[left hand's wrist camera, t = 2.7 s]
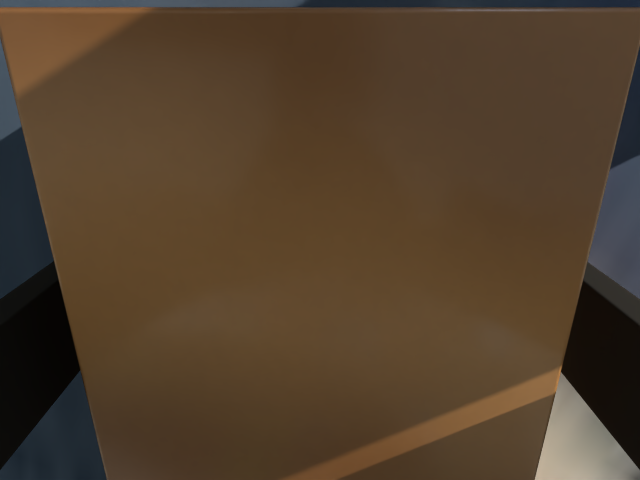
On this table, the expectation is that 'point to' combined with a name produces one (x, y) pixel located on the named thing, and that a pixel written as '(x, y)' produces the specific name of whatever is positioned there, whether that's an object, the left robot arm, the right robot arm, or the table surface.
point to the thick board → (320, 227)
